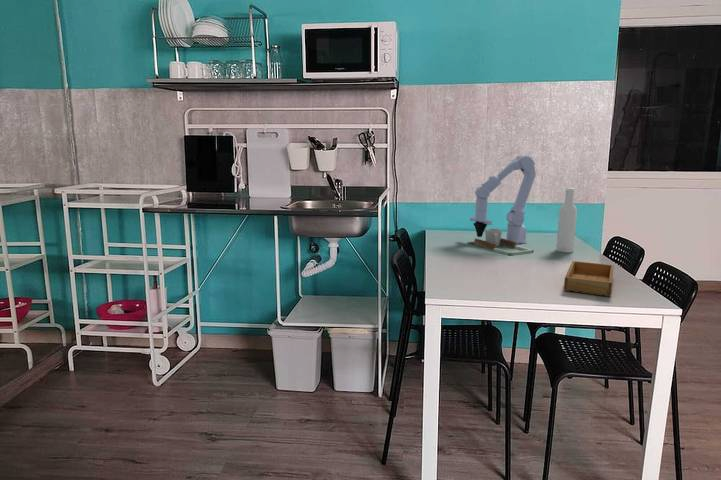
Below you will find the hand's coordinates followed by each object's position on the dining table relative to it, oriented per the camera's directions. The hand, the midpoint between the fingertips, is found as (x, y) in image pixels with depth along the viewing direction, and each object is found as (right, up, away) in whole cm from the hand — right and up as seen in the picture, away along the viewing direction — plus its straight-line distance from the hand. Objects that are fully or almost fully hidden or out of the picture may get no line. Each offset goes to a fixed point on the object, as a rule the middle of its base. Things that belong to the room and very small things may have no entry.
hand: (479, 236), depth 274 cm
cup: (+5, -5, -9) cm, 11 cm away
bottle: (+37, -7, -18) cm, 41 cm away
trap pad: (+1, -3, -1) cm, 3 cm away
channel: (+5, -5, -10) cm, 12 cm away
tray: (+24, -19, -75) cm, 81 cm away
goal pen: (+11, -7, -20) cm, 24 cm away
